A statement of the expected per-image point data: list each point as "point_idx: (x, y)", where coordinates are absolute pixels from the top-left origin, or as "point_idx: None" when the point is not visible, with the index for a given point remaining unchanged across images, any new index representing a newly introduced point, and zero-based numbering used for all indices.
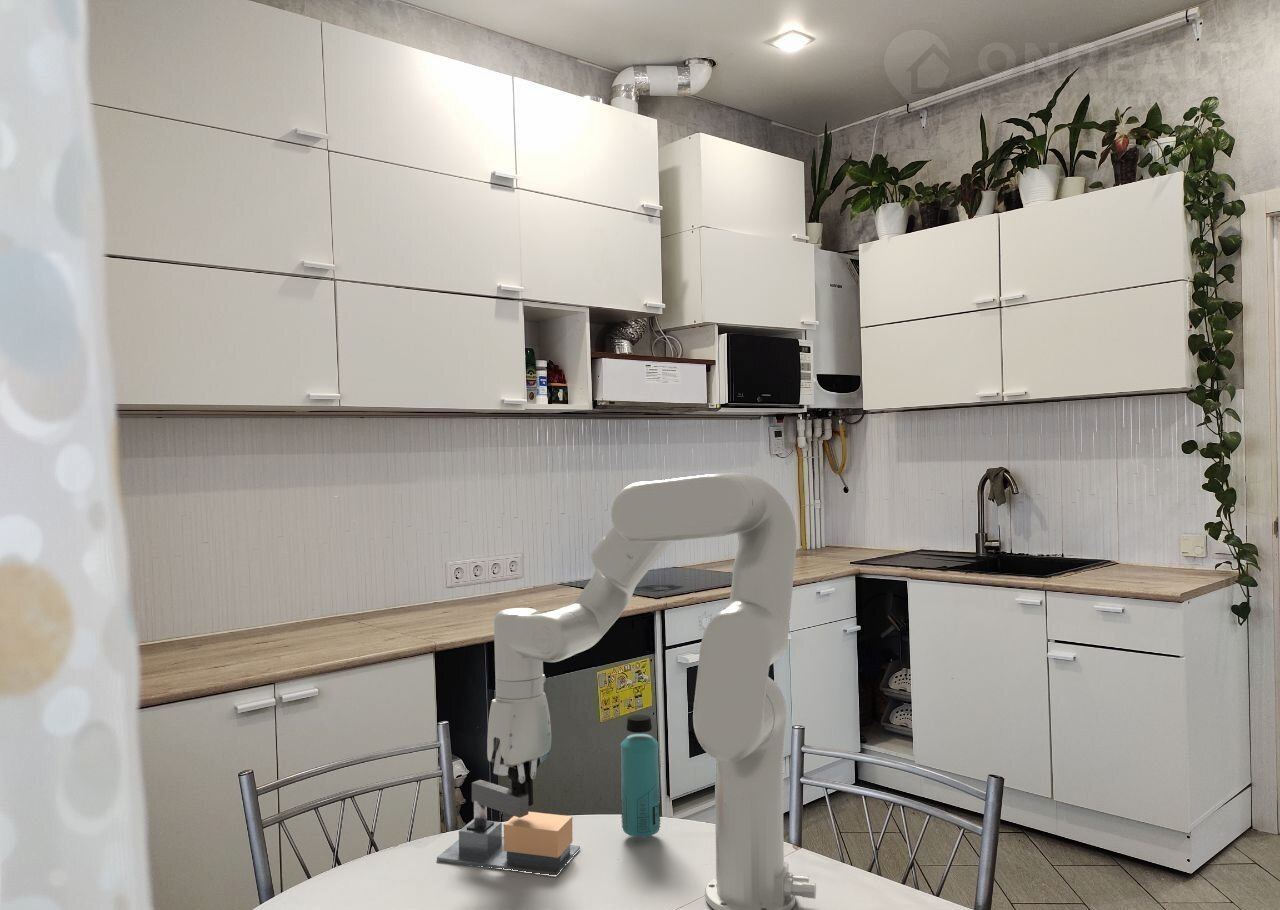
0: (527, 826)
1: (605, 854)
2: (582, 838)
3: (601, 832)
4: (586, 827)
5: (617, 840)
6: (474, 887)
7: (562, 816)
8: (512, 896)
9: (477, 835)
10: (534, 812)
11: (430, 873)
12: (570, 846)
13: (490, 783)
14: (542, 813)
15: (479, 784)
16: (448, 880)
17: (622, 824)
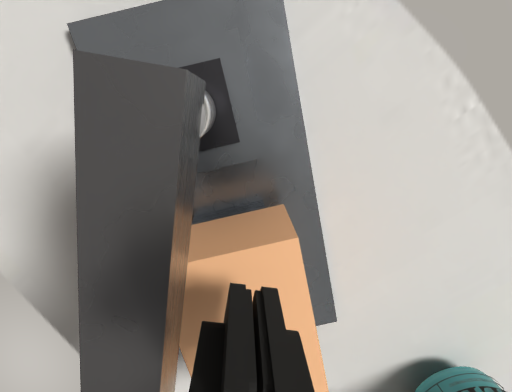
0: (188, 343)
1: (336, 364)
2: (395, 285)
3: (442, 301)
4: (461, 258)
5: (412, 349)
6: (39, 234)
7: (316, 381)
8: (68, 326)
9: None
10: (306, 292)
11: (7, 71)
12: (325, 305)
13: (164, 214)
14: (311, 318)
15: (90, 149)
16: (17, 151)
17: (440, 387)
